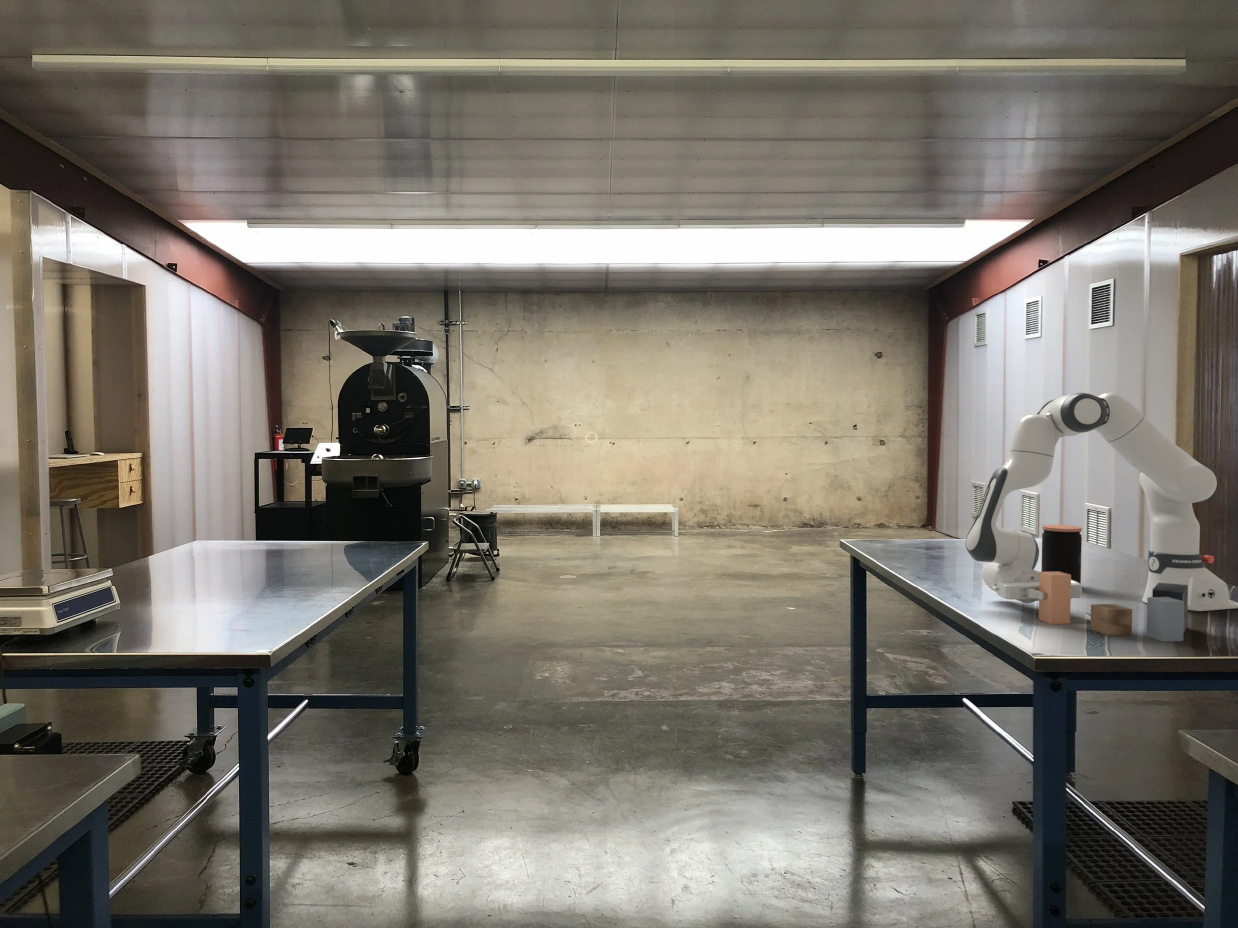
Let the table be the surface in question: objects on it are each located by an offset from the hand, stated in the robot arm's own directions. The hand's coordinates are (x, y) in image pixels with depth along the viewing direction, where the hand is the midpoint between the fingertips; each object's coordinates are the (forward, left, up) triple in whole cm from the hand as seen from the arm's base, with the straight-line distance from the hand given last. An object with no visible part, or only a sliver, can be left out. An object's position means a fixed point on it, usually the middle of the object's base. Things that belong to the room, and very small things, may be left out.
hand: (1056, 595), depth 205 cm
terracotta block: (0, -1, -7) cm, 7 cm away
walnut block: (-7, +10, -7) cm, 14 cm away
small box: (-22, +10, -7) cm, 25 cm away
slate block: (-15, +17, -7) cm, 24 cm away
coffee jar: (-30, -45, -7) cm, 54 cm away
